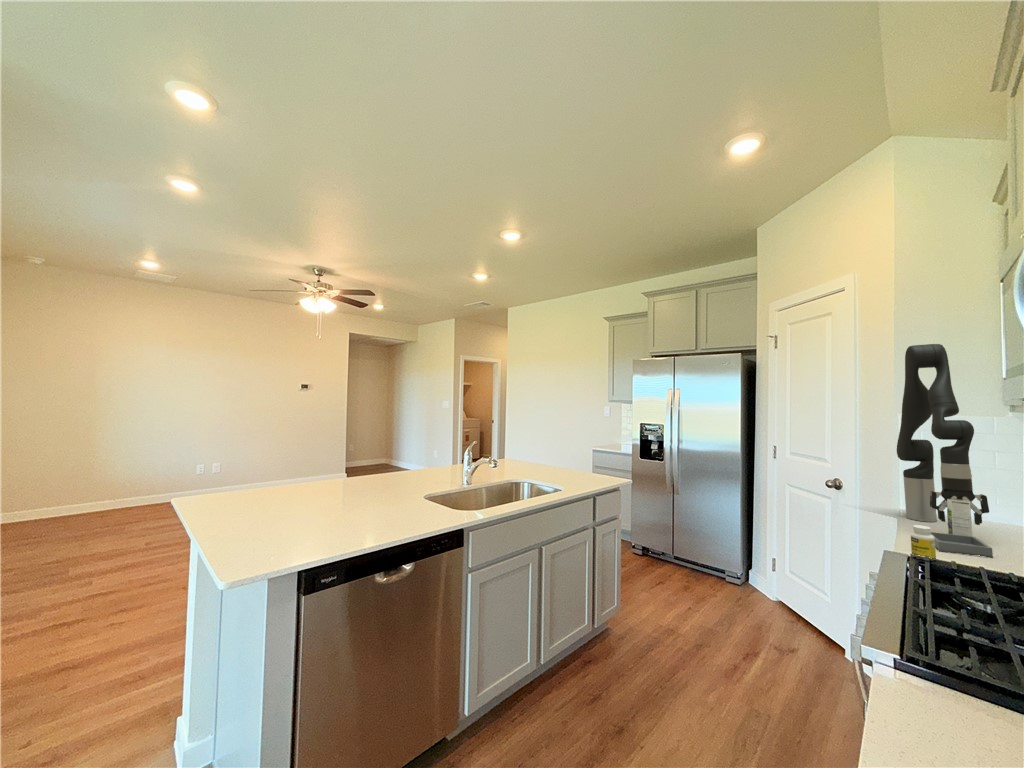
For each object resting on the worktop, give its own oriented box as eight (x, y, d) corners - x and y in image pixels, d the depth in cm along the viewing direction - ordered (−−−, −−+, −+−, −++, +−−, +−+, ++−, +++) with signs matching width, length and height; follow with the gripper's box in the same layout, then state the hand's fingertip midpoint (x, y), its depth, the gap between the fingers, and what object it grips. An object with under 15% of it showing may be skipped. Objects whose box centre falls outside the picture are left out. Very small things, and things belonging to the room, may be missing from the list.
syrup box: (948, 536, 152) (945, 496, 153) (972, 540, 147) (969, 498, 148) (949, 540, 148) (945, 498, 149) (973, 543, 143) (970, 500, 144)
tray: (926, 540, 148) (926, 531, 148) (975, 545, 141) (974, 536, 142) (939, 551, 136) (938, 541, 136) (992, 558, 130) (992, 548, 130)
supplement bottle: (908, 557, 131) (905, 525, 131) (917, 555, 133) (915, 523, 134) (930, 563, 126) (928, 530, 126) (940, 560, 128) (937, 527, 129)
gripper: (980, 476, 148) (984, 523, 147) (925, 473, 156) (928, 518, 155) (989, 479, 142) (993, 528, 141) (931, 476, 150) (934, 522, 148)
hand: (959, 522), depth 148 cm, fingers open, 8 cm apart
